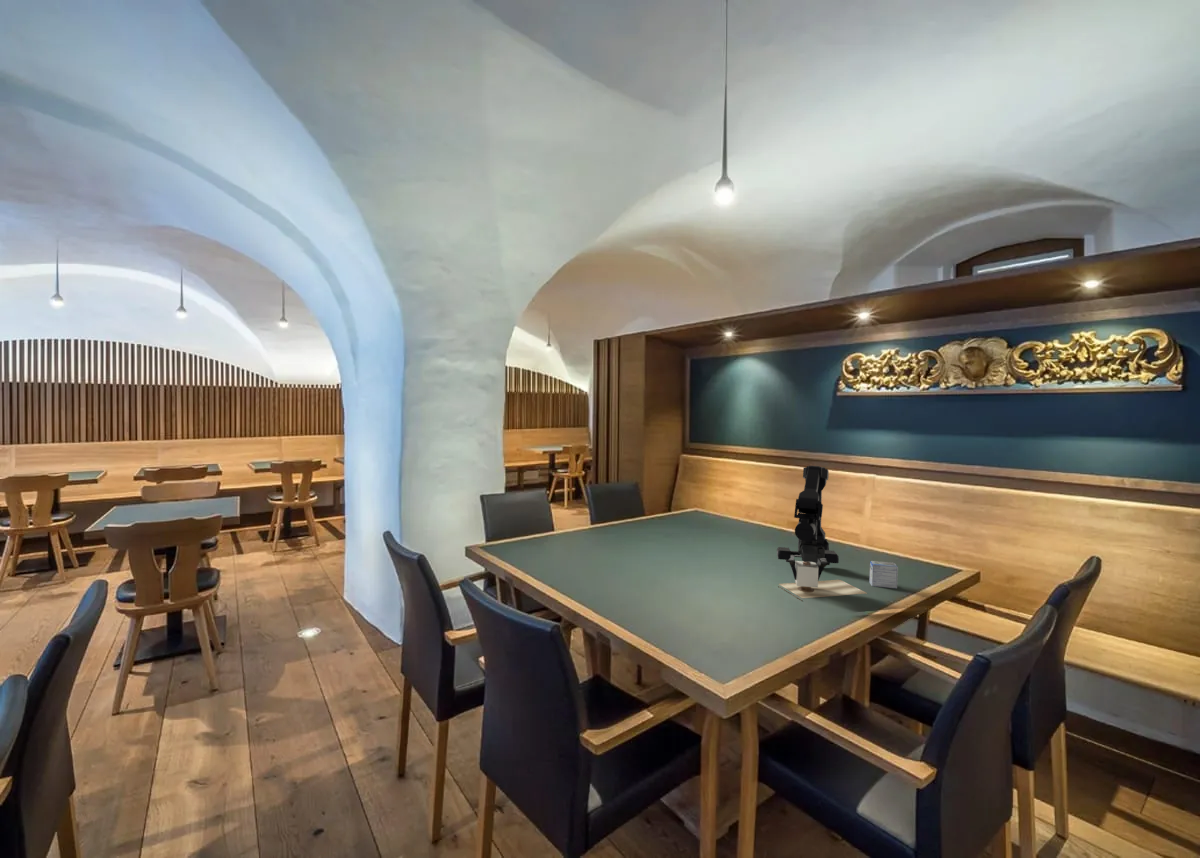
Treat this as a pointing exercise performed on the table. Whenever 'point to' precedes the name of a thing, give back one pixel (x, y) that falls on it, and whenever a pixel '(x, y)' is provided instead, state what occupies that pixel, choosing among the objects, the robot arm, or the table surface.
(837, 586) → the tan board
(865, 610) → the table surface
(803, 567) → the knobbed cube
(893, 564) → the medicine box
